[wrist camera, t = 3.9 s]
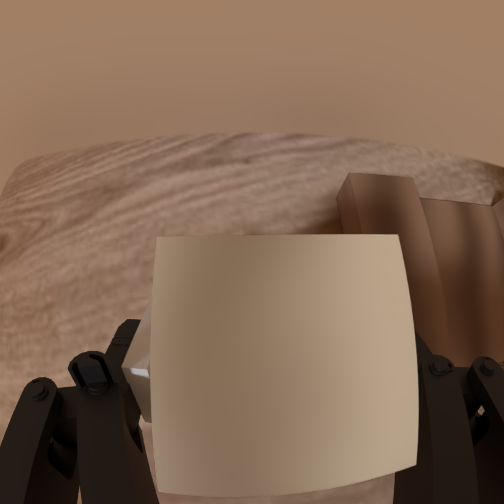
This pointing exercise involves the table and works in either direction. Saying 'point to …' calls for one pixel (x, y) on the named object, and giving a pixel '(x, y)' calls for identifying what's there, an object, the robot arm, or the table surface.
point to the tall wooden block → (281, 363)
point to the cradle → (438, 261)
